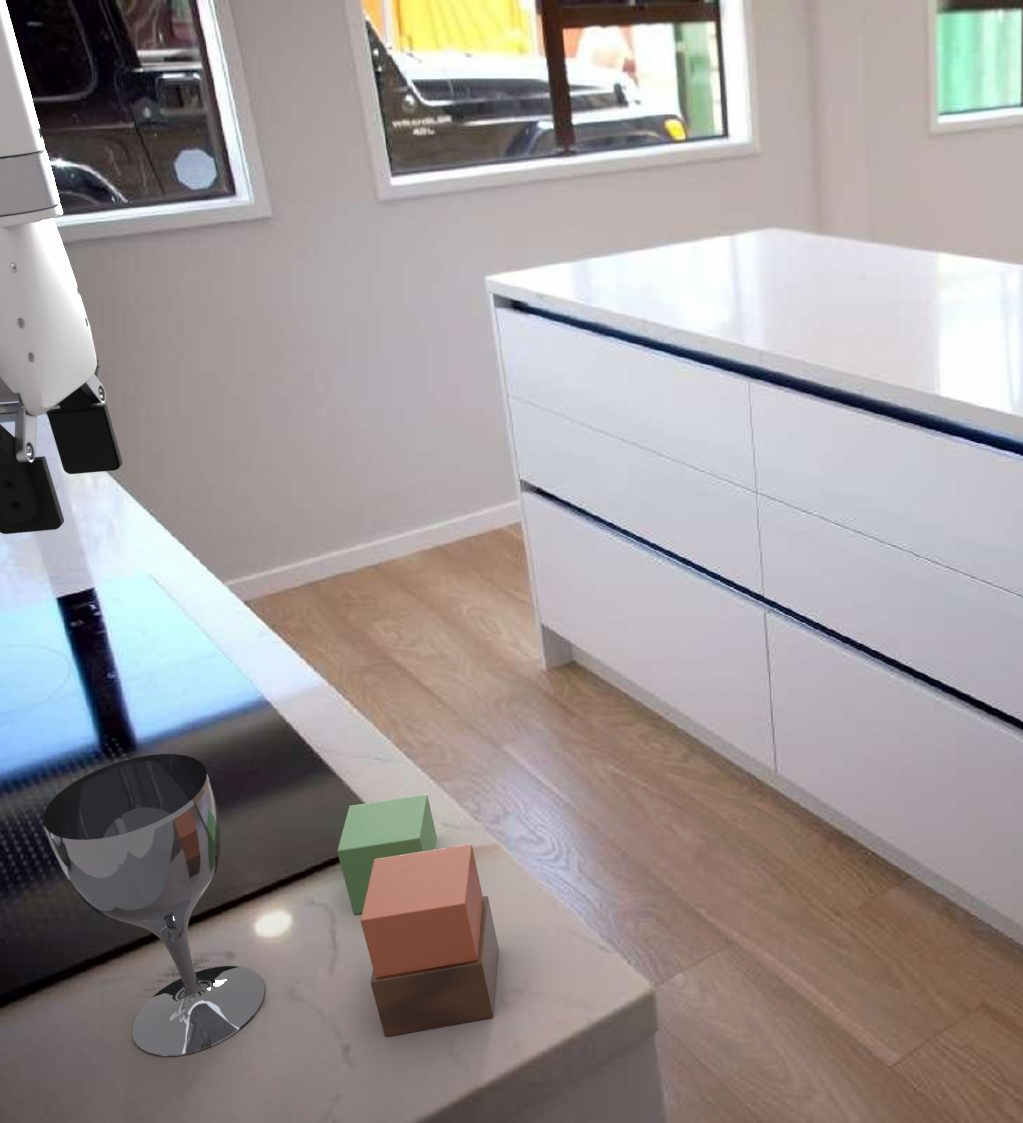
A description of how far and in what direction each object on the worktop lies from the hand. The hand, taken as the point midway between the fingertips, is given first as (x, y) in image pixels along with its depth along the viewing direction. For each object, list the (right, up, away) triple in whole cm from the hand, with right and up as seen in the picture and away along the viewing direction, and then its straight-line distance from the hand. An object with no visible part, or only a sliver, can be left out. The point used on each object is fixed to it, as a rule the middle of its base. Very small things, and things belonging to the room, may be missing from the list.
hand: (65, 498), depth 74 cm
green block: (+16, -25, +10) cm, 31 cm away
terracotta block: (+21, -25, -1) cm, 33 cm away
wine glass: (+7, -30, +1) cm, 31 cm away
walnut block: (+22, -29, +1) cm, 36 cm away
